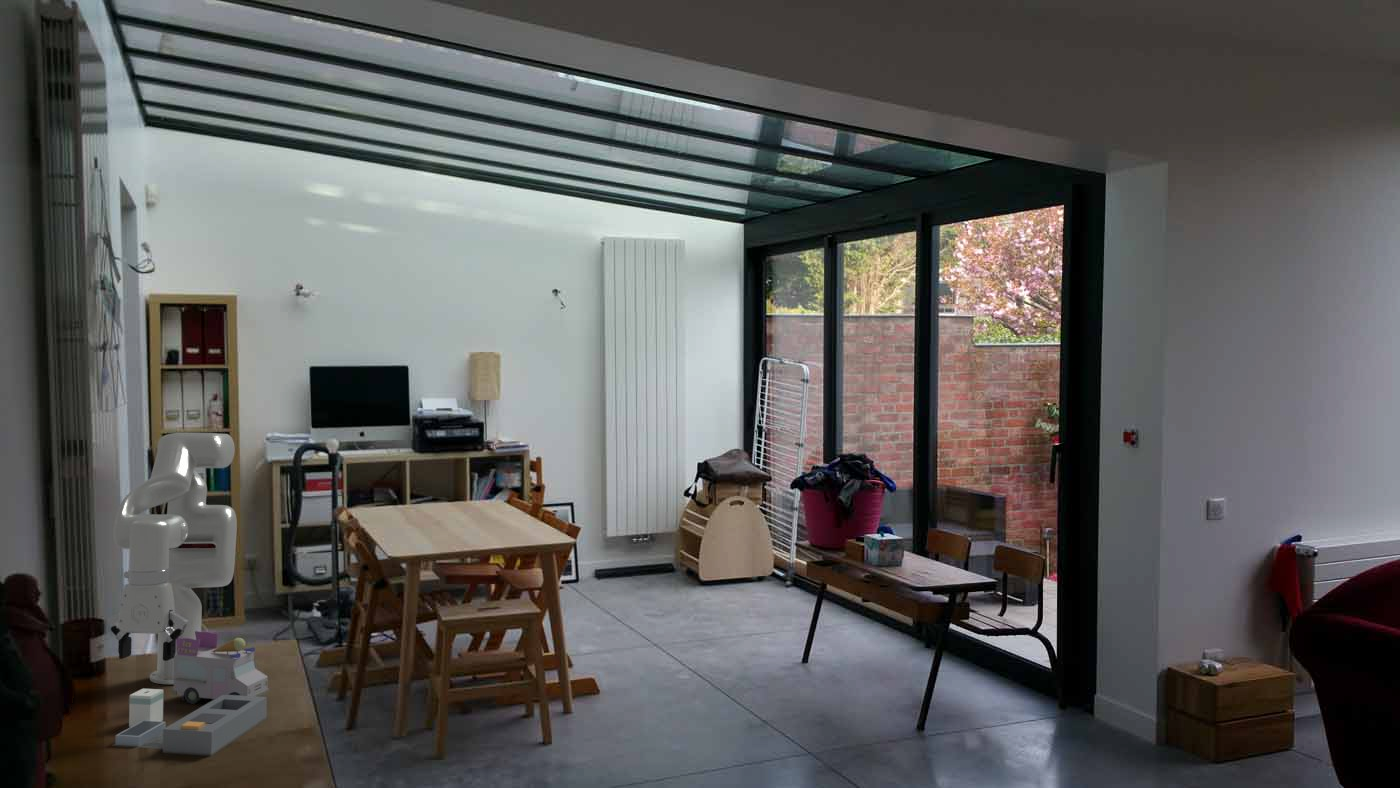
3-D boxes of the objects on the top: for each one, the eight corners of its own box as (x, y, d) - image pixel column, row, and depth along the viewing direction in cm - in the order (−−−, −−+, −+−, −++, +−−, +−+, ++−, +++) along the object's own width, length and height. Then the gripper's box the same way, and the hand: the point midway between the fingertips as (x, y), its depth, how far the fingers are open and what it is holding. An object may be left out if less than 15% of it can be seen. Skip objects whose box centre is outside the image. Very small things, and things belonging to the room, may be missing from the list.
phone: (142, 729, 217) (142, 720, 217) (165, 730, 216) (165, 721, 216) (115, 744, 208) (115, 735, 208) (139, 746, 207) (139, 736, 207)
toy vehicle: (245, 712, 230) (247, 645, 230) (169, 703, 234) (170, 637, 234) (270, 699, 239) (272, 635, 239) (196, 691, 243) (197, 628, 243)
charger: (142, 720, 223) (142, 688, 223) (162, 721, 223) (163, 689, 222) (128, 728, 218) (129, 694, 218) (149, 729, 218) (150, 696, 218)
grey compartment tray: (222, 717, 226) (222, 691, 226) (266, 719, 226) (266, 694, 226) (162, 754, 204) (163, 725, 204) (211, 757, 204) (211, 728, 204)
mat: (141, 729, 217) (141, 728, 217) (196, 733, 216) (196, 731, 216) (111, 746, 207) (111, 745, 207) (168, 750, 206) (168, 748, 206)
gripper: (98, 579, 216) (96, 661, 216) (177, 582, 215) (175, 664, 215) (121, 573, 224) (119, 652, 224) (197, 576, 223) (195, 655, 223)
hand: (146, 658), depth 220 cm, fingers open, 9 cm apart
